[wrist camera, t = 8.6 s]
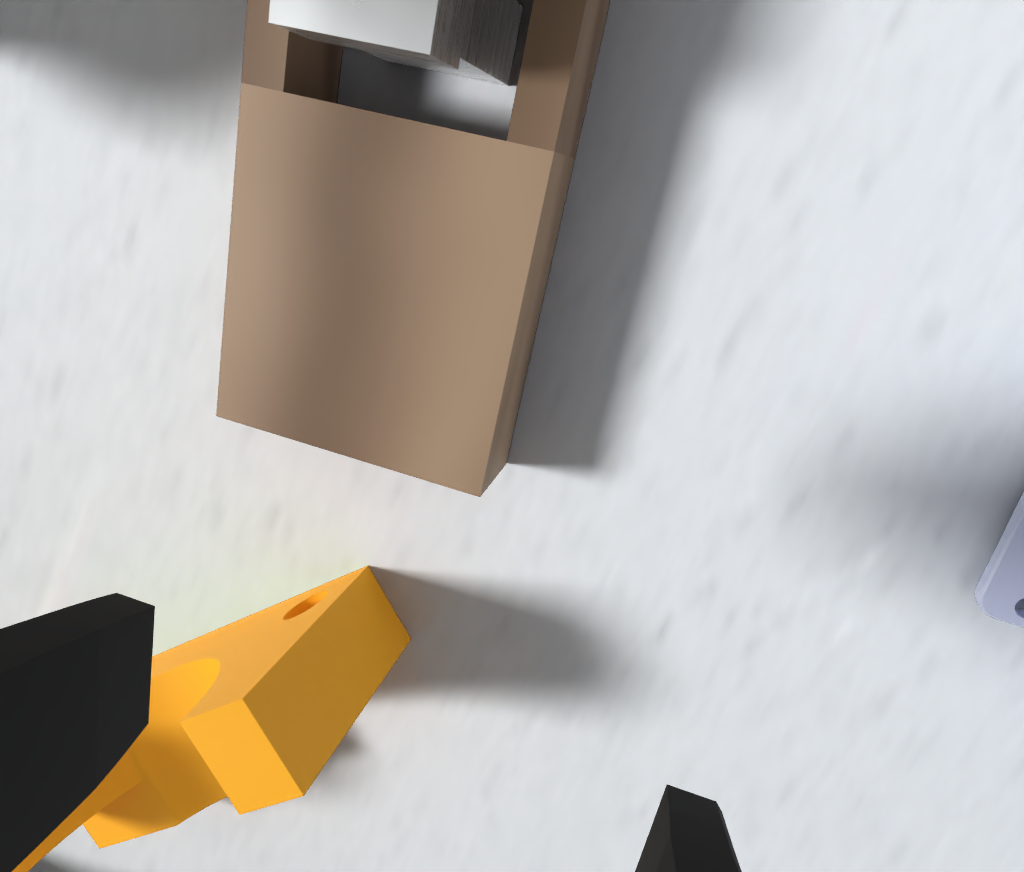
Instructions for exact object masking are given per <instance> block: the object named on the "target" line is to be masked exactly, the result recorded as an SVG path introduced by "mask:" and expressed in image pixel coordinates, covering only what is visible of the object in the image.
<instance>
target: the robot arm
mask: <svg viewBox="0 0 1024 872" xmlns="http://www.w3.org/2000/svg"><path fill="white" fill-rule="evenodd" d="M975 597H976V601H977V603H978V605H979V606H980V608H981V609H982V610H983V611H984V612H985V613H986V615H988V616H990V617H992V618H994V619H998V620H1001V621H1005V622H1008V623H1011V624H1015V625H1018V626H1021V627H1024V610H1019V609H1015V604H1016V603H1017V602H1018V601H1019V600H1021V599H1024V492H1023V494H1022V496H1021V498H1020V500H1019V502H1018V504H1017V506H1016V508H1015V510H1014V512H1013V514H1012V516H1011V518H1010V520H1009V522H1008V524H1007V526H1006V528H1005V530H1004V532H1003V534H1002V536H1001V538H1000V540H999V542H998V545H997V547H996V549H995V551H994V553H993V555H992V557H991V559H990V561H989V563H988V565H987V567H986V569H985V571H984V573H983V575H982V577H981V579H980V581H979V583H978V585H977V587H976V591H975ZM154 610H155V606H153V605H150V604H147V603H144V602H141V601H138V600H136V599H133V598H130V597H127V596H124V595H121V594H118V593H114V594H111V595H107V596H103V597H99V598H96V599H92V600H89V601H86V602H82V603H79V604H76V605H73V606H70V607H66V608H63V609H60V610H57V611H54V612H51V613H48V614H45V615H42V616H39V617H36V618H33V619H30V620H27V621H23V622H20V623H17V624H14V625H11V626H8V627H5V628H2V629H0V872H12V871H13V870H14V869H15V868H16V867H17V866H18V865H19V864H20V863H21V862H22V861H23V860H24V859H25V858H26V857H27V856H28V855H29V854H31V853H32V852H33V851H34V850H35V849H36V848H37V847H38V846H39V845H40V844H41V843H42V842H43V841H44V840H45V839H46V838H47V837H48V836H49V835H50V834H51V833H52V832H53V831H54V830H55V829H56V828H57V827H58V826H59V825H60V824H61V823H62V822H63V821H64V820H65V819H66V818H67V817H68V816H69V815H70V814H71V813H72V812H73V811H74V810H75V809H76V808H77V807H78V806H79V805H80V804H81V803H82V802H83V801H84V800H85V799H86V798H87V797H88V796H89V795H90V794H91V793H92V792H93V791H94V790H95V789H96V788H97V787H98V785H99V784H100V783H101V782H102V781H103V780H104V778H105V777H106V776H107V775H108V774H109V772H110V771H111V770H112V769H113V768H114V766H115V765H116V764H117V763H118V762H119V760H120V759H121V758H122V757H123V755H124V754H125V753H126V752H127V750H128V749H129V748H130V746H131V745H132V744H133V743H134V741H135V740H136V739H137V738H138V736H139V735H140V734H141V732H142V731H143V730H144V729H145V727H146V726H147V725H148V724H149V705H150V686H151V667H152V648H153V629H154ZM635 872H741V869H740V866H739V863H738V860H737V857H736V854H735V851H734V848H733V845H732V842H731V839H730V836H729V833H728V830H727V827H726V824H725V820H724V817H723V814H722V811H721V810H720V808H719V806H718V804H717V802H716V801H713V800H710V799H707V798H704V797H701V796H699V795H696V794H693V793H690V792H687V791H684V790H681V789H678V788H676V787H673V786H670V785H667V786H666V788H665V791H664V794H663V797H662V799H661V802H660V805H659V808H658V810H657V813H656V816H655V819H654V821H653V824H652V827H651V830H650V832H649V835H648V838H647V841H646V843H645V846H644V849H643V851H642V854H641V857H640V860H639V862H638V865H637V868H636V871H635Z"/></svg>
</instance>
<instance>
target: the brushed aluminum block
mask: <svg viewBox="0 0 1024 872" xmlns="http://www.w3.org/2000/svg"><path fill="white" fill-rule="evenodd" d="M522 9H523V7H522V6H521V5H520V4H519V3H518V2H517V1H516V0H270V9H269V21H268V23H271V24H273V25H275V26H278V27H280V28H283V29H285V30H288V31H290V32H293V33H295V34H297V35H300V36H302V37H305V38H307V39H310V40H313V41H318V42H323V43H328V44H333V45H338V46H343V47H348V48H353V49H358V50H362V51H365V52H367V53H369V54H372V55H374V56H376V57H378V58H381V59H383V60H385V61H388V62H393V63H398V64H403V65H408V66H413V67H418V68H423V69H428V70H433V71H438V72H443V73H448V74H453V75H457V76H462V77H467V78H472V79H477V80H482V81H487V82H492V83H497V84H502V85H507V86H508V84H509V79H510V74H511V68H512V63H513V58H514V52H515V47H516V41H517V36H518V31H519V25H520V20H521V14H522Z"/></svg>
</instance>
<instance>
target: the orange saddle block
mask: <svg viewBox="0 0 1024 872" xmlns="http://www.w3.org/2000/svg"><path fill="white" fill-rule="evenodd" d="M410 640H411V638H410V637H409V635H408V633H407V631H406V630H405V628H404V626H403V625H402V623H401V621H400V619H399V618H398V616H397V614H396V613H395V611H394V609H393V607H392V606H391V604H390V602H389V601H388V599H387V597H386V595H385V594H384V592H383V590H382V588H381V587H380V585H379V583H378V582H377V580H376V578H375V576H374V575H373V573H372V571H371V570H370V568H369V566H366V567H363V568H361V569H359V570H356V571H354V572H351V573H349V574H347V575H344V576H342V577H340V578H337V579H335V580H333V581H330V582H328V583H325V584H323V585H321V586H318V587H316V588H314V589H311V590H309V591H306V592H304V593H302V594H299V595H297V596H295V597H292V598H290V599H288V600H285V601H283V602H280V603H278V604H276V605H273V606H271V607H269V608H266V609H264V610H262V611H259V612H257V613H254V614H252V615H250V616H247V617H245V618H243V619H240V620H238V621H236V622H233V623H231V624H228V625H226V626H224V627H221V628H219V629H217V630H214V631H212V632H209V633H207V634H205V635H202V636H200V637H198V638H195V639H193V640H191V641H188V642H186V643H183V644H181V645H179V646H176V647H174V648H172V649H169V650H167V651H165V652H162V653H160V654H157V655H155V656H153V657H152V667H151V686H150V705H149V724H148V725H147V726H146V727H145V729H144V730H143V731H142V732H141V734H140V735H139V736H138V738H137V739H136V740H135V741H134V743H133V744H132V745H131V746H130V748H129V749H128V750H127V752H126V753H125V754H124V755H123V757H122V758H121V759H120V760H119V762H118V763H117V764H116V765H115V766H114V768H113V769H112V770H111V771H110V772H109V774H108V775H107V776H106V777H105V778H104V780H103V781H102V782H101V783H100V784H99V785H98V787H97V788H96V789H95V790H94V791H93V792H92V793H91V794H90V795H89V796H88V797H87V798H86V799H85V800H84V801H83V802H82V803H81V804H80V805H79V806H78V807H77V808H76V809H75V810H74V811H73V812H72V813H71V814H70V815H69V816H68V817H67V818H66V819H65V820H64V821H63V822H62V823H61V824H60V825H59V826H58V827H57V828H56V829H55V830H54V831H53V832H52V833H51V834H50V835H49V836H48V837H47V838H46V839H45V840H44V841H43V842H42V843H41V844H40V845H39V846H38V847H37V848H36V849H35V850H34V851H33V852H32V853H31V854H29V855H28V856H27V857H26V858H25V859H24V860H23V861H22V862H21V863H20V864H19V865H18V866H17V867H16V868H15V869H14V870H13V871H12V872H28V871H29V870H30V869H31V868H32V867H33V866H34V865H35V864H36V863H37V862H38V861H40V860H41V859H42V858H43V857H44V856H45V855H46V854H47V853H48V852H50V851H51V850H52V849H53V848H54V847H55V846H57V845H58V844H59V843H60V842H61V841H62V840H63V839H65V838H66V837H67V836H68V835H70V834H71V833H72V832H73V831H74V830H76V829H77V828H78V827H79V826H81V825H82V824H83V825H84V827H85V828H86V830H87V831H88V833H89V834H90V835H91V837H92V838H93V840H94V841H95V843H96V844H97V845H98V847H99V848H103V847H107V846H110V845H113V844H117V843H120V842H123V841H127V840H130V839H133V838H137V837H140V836H143V835H147V834H150V833H153V832H157V831H160V830H163V829H167V828H170V827H173V826H177V825H178V824H180V823H181V822H183V821H184V820H186V819H187V818H189V817H191V816H192V815H194V814H196V813H197V812H199V811H201V810H202V809H204V808H206V807H208V806H210V805H211V804H213V803H215V802H217V801H219V800H221V799H223V798H225V797H228V798H229V799H230V801H231V802H232V804H233V805H234V807H235V808H236V810H237V812H238V813H239V815H240V814H244V813H247V812H250V811H254V810H257V809H261V808H264V807H267V806H271V805H274V804H278V803H281V802H284V801H288V800H291V799H295V798H298V797H301V796H304V795H305V793H306V792H307V790H308V789H309V787H310V786H311V784H312V783H313V781H314V780H315V779H316V777H317V776H318V774H319V773H320V771H321V770H322V768H323V767H324V765H325V764H326V762H327V761H328V760H329V758H330V757H331V755H332V754H333V752H334V751H335V749H336V748H337V746H338V745H339V744H340V742H341V741H342V739H343V738H344V736H345V735H346V733H347V732H348V730H349V729H350V728H351V726H352V725H353V723H354V722H355V720H356V719H357V717H358V716H359V714H360V713H361V711H362V710H363V709H364V707H365V706H366V704H367V703H368V701H369V700H370V698H371V697H372V695H373V694H374V693H375V691H376V690H377V688H378V687H379V685H380V684H381V682H382V681H383V679H384V678H385V676H386V675H387V674H388V672H389V671H390V669H391V668H392V666H393V665H394V663H395V662H396V660H397V659H398V658H399V656H400V655H401V653H402V652H403V650H404V649H405V647H406V646H407V644H408V643H409V641H410Z"/></svg>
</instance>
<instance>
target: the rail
mask: <svg viewBox="0 0 1024 872" xmlns="http://www.w3.org/2000/svg"><path fill="white" fill-rule="evenodd" d="M609 4H610V0H534V1H533V6H532V11H531V16H530V22H529V27H528V32H527V37H526V42H525V48H524V53H523V58H522V63H521V68H520V74H519V79H518V84H517V89H516V94H515V99H514V105H513V110H512V115H511V120H510V125H509V131H508V136H507V141H504V140H499V139H495V138H490V137H486V136H481V135H477V134H472V133H467V132H463V131H458V130H454V129H449V128H445V127H440V126H436V125H431V124H427V123H422V122H418V121H413V120H408V119H404V118H399V117H395V116H390V115H386V114H381V113H377V112H372V111H368V110H363V109H359V108H354V107H349V106H345V105H340V104H336V102H337V93H338V85H339V76H340V67H341V59H342V50H343V46H338V45H333V44H328V43H323V42H318V41H313V40H310V39H307V38H305V37H302V36H300V35H297V34H295V33H293V32H290V31H288V30H285V29H283V28H280V27H278V26H275V25H273V24H271V23H268V21H269V9H270V0H247V13H246V26H245V39H244V53H243V66H242V80H241V93H240V106H239V120H238V133H237V146H236V160H235V173H234V186H233V200H232V213H231V226H230V240H229V253H228V266H227V280H226V293H225V307H224V320H223V333H222V347H221V360H220V373H219V387H218V400H217V413H216V416H218V417H221V418H224V419H228V420H231V421H234V422H237V423H241V424H244V425H247V426H250V427H254V428H257V429H260V430H263V431H267V432H270V433H273V434H276V435H280V436H283V437H286V438H289V439H293V440H296V441H299V442H302V443H306V444H309V445H312V446H315V447H319V448H322V449H325V450H328V451H332V452H335V453H338V454H342V455H345V456H348V457H351V458H355V459H358V460H361V461H364V462H368V463H371V464H374V465H377V466H381V467H384V468H387V469H390V470H394V471H397V472H400V473H403V474H407V475H410V476H413V477H416V478H420V479H423V480H426V481H429V482H433V483H436V484H439V485H442V486H446V487H449V488H452V489H455V490H459V491H462V492H465V493H468V494H472V495H475V496H478V497H480V496H481V495H482V494H483V493H484V491H485V490H486V489H487V488H488V486H489V485H490V484H491V482H492V481H493V480H494V479H495V477H496V476H497V475H498V474H499V472H500V471H501V470H502V469H503V467H504V466H505V465H506V463H507V458H508V454H509V449H510V445H511V440H512V436H513V431H514V427H515V423H516V418H517V414H518V409H519V405H520V400H521V396H522V391H523V387H524V382H525V378H526V373H527V369H528V365H529V360H530V356H531V351H532V347H533V342H534V338H535V333H536V329H537V324H538V320H539V316H540V311H541V307H542V302H543V298H544V293H545V289H546V284H547V280H548V275H549V271H550V267H551V262H552V258H553V253H554V249H555V244H556V240H557V235H558V231H559V226H560V222H561V218H562V213H563V209H564V204H565V200H566V195H567V191H568V186H569V182H570V177H571V173H572V168H573V164H574V160H575V155H576V151H577V146H578V142H579V137H580V133H581V128H582V124H583V119H584V115H585V111H586V106H587V102H588V97H589V93H590V88H591V84H592V79H593V75H594V70H595V66H596V62H597V57H598V53H599V48H600V44H601V39H602V35H603V30H604V26H605V21H606V17H607V13H608V8H609Z"/></svg>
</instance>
